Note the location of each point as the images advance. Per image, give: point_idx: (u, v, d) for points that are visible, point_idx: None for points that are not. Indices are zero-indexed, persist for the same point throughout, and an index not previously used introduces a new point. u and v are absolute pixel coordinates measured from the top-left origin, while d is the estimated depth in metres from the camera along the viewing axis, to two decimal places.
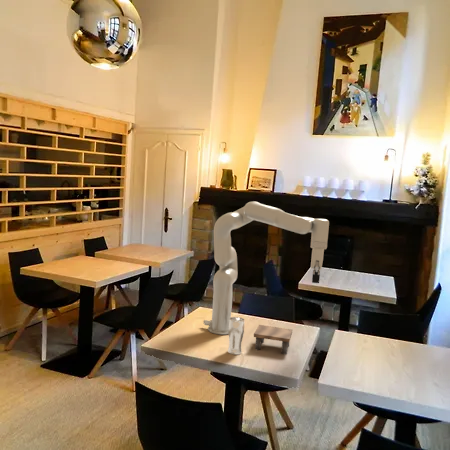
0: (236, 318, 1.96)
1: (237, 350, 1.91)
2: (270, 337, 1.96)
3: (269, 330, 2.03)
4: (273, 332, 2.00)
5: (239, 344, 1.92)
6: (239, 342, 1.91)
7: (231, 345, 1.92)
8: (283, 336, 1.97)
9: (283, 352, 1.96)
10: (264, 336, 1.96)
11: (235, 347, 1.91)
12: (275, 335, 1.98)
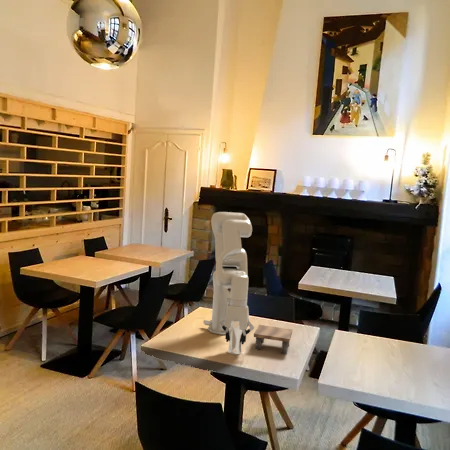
0: None
1: (237, 350, 1.91)
2: (270, 337, 1.96)
3: (269, 330, 2.03)
4: (273, 332, 2.00)
5: (239, 344, 1.92)
6: (239, 342, 1.91)
7: (231, 345, 1.92)
8: (283, 336, 1.97)
9: (283, 352, 1.96)
10: (264, 336, 1.96)
11: (235, 347, 1.91)
12: (275, 335, 1.98)
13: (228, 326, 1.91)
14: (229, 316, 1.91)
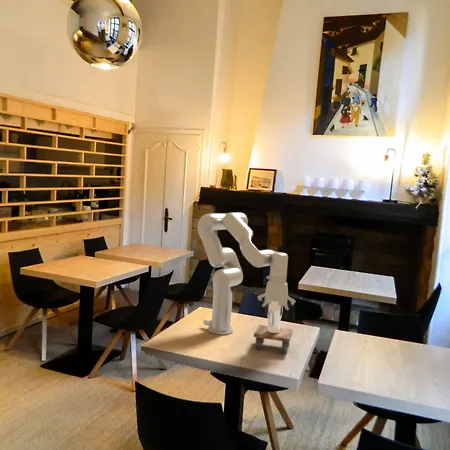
0: None
1: (276, 329, 2.00)
2: (270, 337, 1.96)
3: None
4: None
5: (278, 323, 2.00)
6: (278, 321, 2.00)
7: (270, 324, 2.00)
8: (283, 336, 1.97)
9: (283, 352, 1.96)
10: (264, 336, 1.96)
11: (274, 326, 2.00)
12: (275, 335, 1.98)
13: (268, 302, 1.99)
14: (269, 292, 1.99)
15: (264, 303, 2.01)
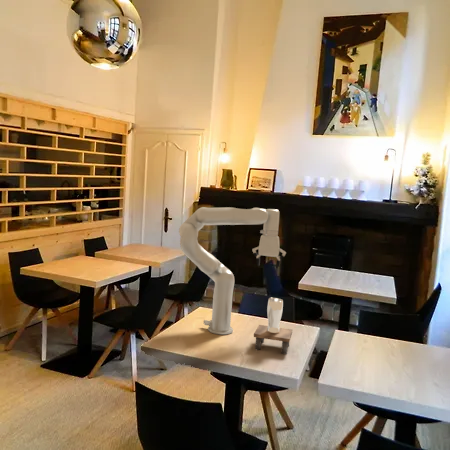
0: (274, 299, 2.04)
1: (276, 329, 2.00)
2: (270, 337, 1.96)
3: None
4: None
5: (278, 323, 2.00)
6: (278, 322, 2.00)
7: (270, 324, 2.00)
8: (283, 336, 1.97)
9: (283, 352, 1.96)
10: (264, 336, 1.96)
11: (274, 326, 2.00)
12: (275, 335, 1.98)
13: (262, 254, 2.21)
14: (263, 245, 2.20)
15: (258, 255, 2.23)
